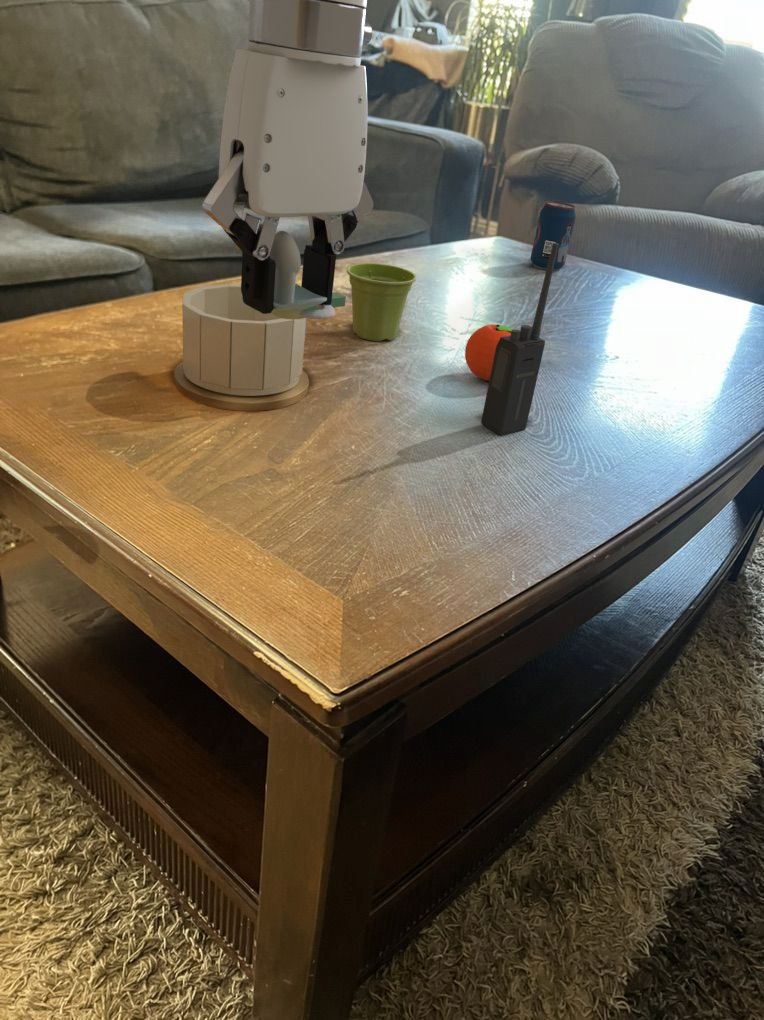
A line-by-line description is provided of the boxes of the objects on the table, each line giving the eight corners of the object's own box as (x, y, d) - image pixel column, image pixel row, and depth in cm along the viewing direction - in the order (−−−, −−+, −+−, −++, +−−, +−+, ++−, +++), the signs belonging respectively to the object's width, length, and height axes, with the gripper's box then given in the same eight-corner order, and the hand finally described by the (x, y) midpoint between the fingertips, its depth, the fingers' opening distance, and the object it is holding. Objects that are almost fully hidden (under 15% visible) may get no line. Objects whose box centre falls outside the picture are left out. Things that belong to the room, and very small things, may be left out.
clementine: (518, 372, 102) (529, 320, 99) (526, 393, 96) (539, 338, 93) (458, 365, 102) (467, 312, 98) (462, 386, 96) (473, 330, 92)
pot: (369, 373, 92) (377, 307, 88) (224, 404, 80) (225, 329, 76) (303, 337, 100) (308, 275, 96) (161, 361, 88) (159, 290, 83)
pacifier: (294, 296, 65) (234, 302, 61) (301, 219, 62) (239, 219, 58) (351, 324, 61) (290, 331, 57) (362, 242, 58) (299, 244, 54)
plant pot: (332, 338, 105) (338, 273, 100) (351, 319, 113) (357, 258, 108) (399, 351, 104) (408, 286, 99) (413, 331, 112) (422, 270, 107)
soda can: (531, 260, 160) (545, 198, 154) (565, 266, 159) (580, 205, 152) (526, 266, 154) (540, 203, 148) (561, 273, 153) (576, 210, 147)
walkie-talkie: (506, 416, 89) (546, 238, 79) (527, 428, 87) (571, 246, 77) (476, 423, 87) (514, 239, 76) (497, 436, 85) (538, 248, 74)
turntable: (222, 422, 79) (223, 413, 79) (149, 371, 88) (148, 362, 88) (335, 394, 89) (335, 386, 88) (258, 351, 97) (258, 343, 97)
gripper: (365, 41, 59) (340, 281, 68) (160, 11, 48) (164, 300, 58) (435, 53, 54) (398, 308, 64) (226, 22, 44) (218, 334, 53)
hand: (287, 302), depth 60 cm, fingers closed on pacifier, 4 cm apart
